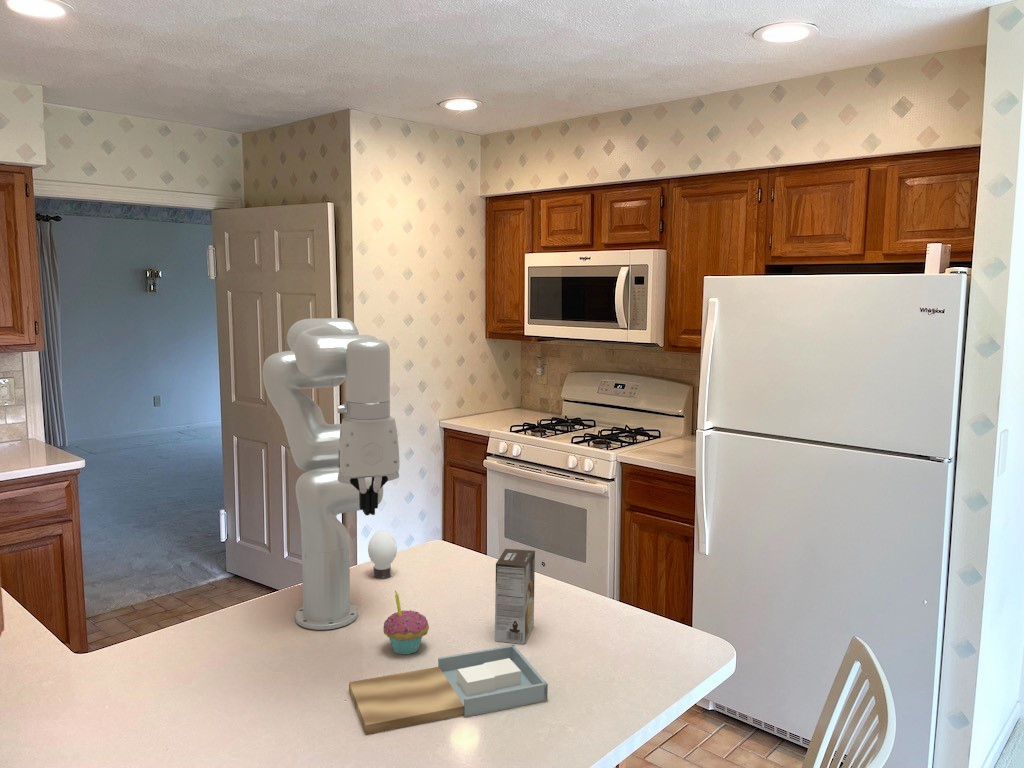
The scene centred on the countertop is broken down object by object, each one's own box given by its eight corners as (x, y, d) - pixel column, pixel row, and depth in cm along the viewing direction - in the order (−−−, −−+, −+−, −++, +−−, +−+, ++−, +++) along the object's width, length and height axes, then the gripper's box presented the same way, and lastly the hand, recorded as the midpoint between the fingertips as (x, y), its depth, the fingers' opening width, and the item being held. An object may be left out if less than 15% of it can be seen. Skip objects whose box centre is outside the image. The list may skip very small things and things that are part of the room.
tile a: (457, 682, 138) (457, 669, 138) (484, 676, 140) (484, 664, 140) (467, 696, 134) (467, 682, 133) (494, 690, 136) (495, 677, 135)
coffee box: (503, 622, 164) (505, 547, 162) (534, 625, 163) (535, 549, 160) (493, 641, 155) (495, 562, 153) (526, 645, 154) (527, 565, 151)
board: (349, 691, 136) (349, 682, 135) (439, 675, 142) (439, 666, 141) (365, 734, 123) (365, 725, 123) (463, 715, 129) (463, 706, 128)
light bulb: (364, 580, 185) (363, 534, 184) (373, 569, 192) (373, 525, 190) (391, 582, 184) (391, 536, 183) (400, 571, 191) (400, 527, 189)
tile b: (483, 676, 140) (483, 663, 140) (509, 670, 142) (509, 658, 142) (494, 689, 136) (494, 676, 136) (520, 683, 138) (520, 670, 138)
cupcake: (391, 662, 146) (391, 600, 144) (377, 643, 153) (376, 584, 152) (435, 653, 150) (435, 592, 148) (419, 635, 157) (419, 577, 156)
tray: (438, 673, 142) (438, 657, 142) (513, 660, 148) (513, 644, 147) (464, 717, 128) (465, 699, 128) (547, 700, 134) (547, 684, 133)
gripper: (327, 416, 131) (329, 523, 134) (415, 412, 137) (415, 515, 139) (321, 409, 138) (322, 511, 141) (404, 405, 144) (404, 503, 146)
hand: (368, 512), depth 140 cm, fingers closed
